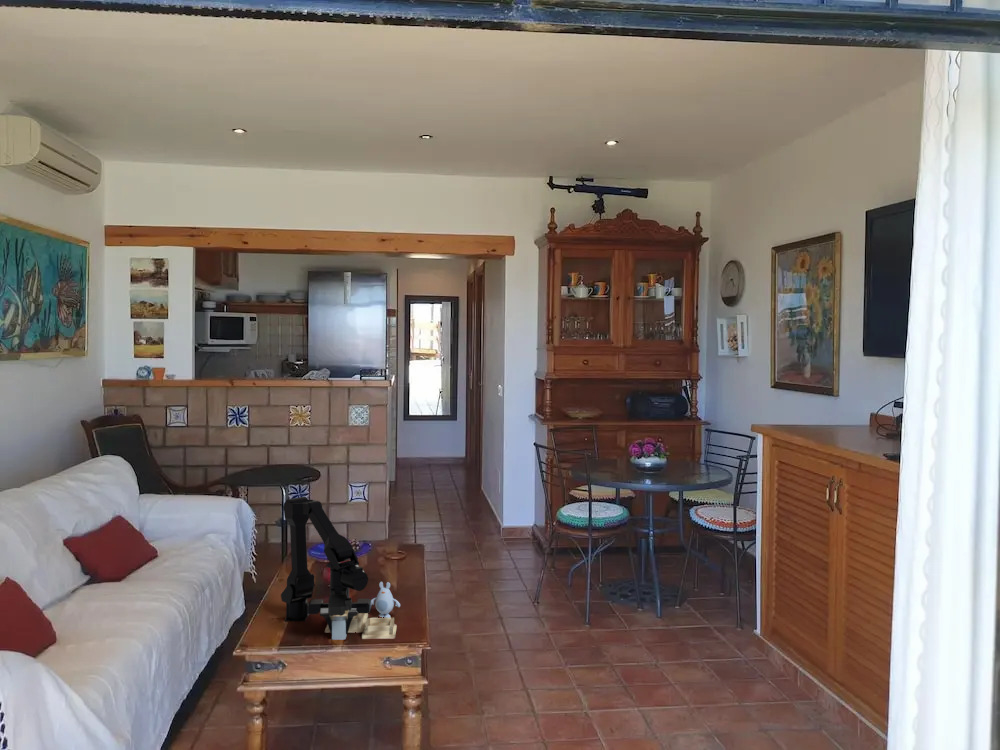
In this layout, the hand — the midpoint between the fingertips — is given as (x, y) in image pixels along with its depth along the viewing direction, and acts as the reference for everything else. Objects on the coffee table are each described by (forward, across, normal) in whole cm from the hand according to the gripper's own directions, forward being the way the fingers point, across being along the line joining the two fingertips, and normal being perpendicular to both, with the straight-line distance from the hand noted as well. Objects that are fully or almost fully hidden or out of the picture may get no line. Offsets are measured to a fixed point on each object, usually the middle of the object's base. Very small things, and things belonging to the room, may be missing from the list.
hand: (339, 633), depth 233 cm
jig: (+1, +1, +12) cm, 12 cm away
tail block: (+1, 0, 0) cm, 1 cm away
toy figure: (+1, +13, +16) cm, 21 cm away
